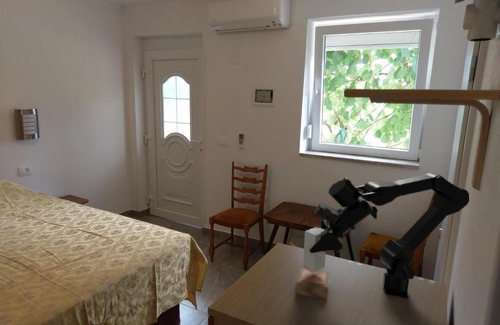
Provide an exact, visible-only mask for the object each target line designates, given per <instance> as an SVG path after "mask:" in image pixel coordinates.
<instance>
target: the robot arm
mask: <svg viewBox="0 0 500 325" xmlns="http://www.w3.org/2000/svg"><path fill="white" fill-rule="evenodd" d="M429 190H430V191H432V192H434V193H435V194H434V195H433V200H432V203H431V206H430V207H429V208H428V209H427V210H426V211H425V212H424V213H423V214H422V215H421V216H420V218H418V220H417V221H416V222H414V224H413V225H412V226H411V227H410V228H409V229H408V230H407V231H406V232H405V234H403V235H402V236H401V237H400V238H399V239H397V240H394V239H392V238H390V239H388V241H387V242H386V243H385V244H384V245H382V246H381V250H380V251H379V259H380V261H381V262H382V263H383V266H384V267H385V269H386V270H385V272H384V273H383V278H382V288H383V289H384V292H385V294H387V295H391V296H398V297H404V298H409V284H410V280H413V279H414V277H415V276H416V272H415V270H413V269H412V267H411V266H410V265H411V263H412V262H413V258H414V254H415V251H416V250H417V249H418V247H419V246H420V245H422V243H423V242H424V241H425V240H426V239H427V238H428V237H429V236H430V235H431V234H432V233H433V231H435V229H436V228H437V227H438V226H439V225H440V224H441V223H442V222H443V221H444V220H445V219H446V218H447V217H448V216H450V215H453V214H457V213H459V212H460V211H462V209H464V208H465V207H466V206H467V205H468V204H469V203H470V201H469V199H470V198H469V195H470V192H469V191H468V190H467V189H464V188H462V187H460V186H457V185H455V184H453V183H452V182H450V181H449V180H447V179H446V178H445V177H443V176H442V175H439V174H436V173H433V172H428V173H425V174H422V175H417V176H413V177H408V178H403V179H398V180H394V181H382V180H380V181H379V180H376V181H374V180H373V181H368V182H366V183H364V184H363V185H358V186H355V185H354V184H353V183H352V181H351V180H350V179H349V178H347V177H344V178H343V179H342V180H338V181H336V182H334V183H333V184H332V185H331V186H330V187H329V189H328V194H329V195H330V197H331V198H332V199H333V200H334V201H335V202H336V203H337V204H338V205H339V206H340V207H341V208H338V209H337V210H336V209H334V208H333V207H331V206H329V205H327V204H325V203H324V202H321V201H320V202H319V203H318V205H317V206H316V208H315V210H314V215H315V216H316V217H318V218H321V220H320V226H319V228H321V229H324V231H323V232H322V231H321V238H320V239H319V240H318V241H317V242H316V243H315V244H314V245H313V246H312V247H311V249H310V250H309V251H310V252H311V253H316V252H322V251H326V252H328V251H334V252H335V253H336V254H338V253H339V252H341V251H342V250H343V248H344V247H343V245H344V243H343V238H345V234H346V233H347V232H349V231H350V230H352V231H354V230H355V229H356V226H357V225H358V224H359V223H361V222H362V221H363V220H364V219H366V218H368V217H369V216H371V217H372V218H373V219H375V220H377V218H378V207H382V206H384V205H387V204H390V203H392V202H393V201H395V200H396V199H397V198H399V197H403V196H406V195H411V194H412V195H413V194H416V193H421V192H425V191H429ZM360 198H361V199H362V200H361V199H360ZM369 202H370V203H371V204H373V205H375V206H371V204H370V203H369ZM468 202H469V203H468ZM377 206H378V207H377Z"/></svg>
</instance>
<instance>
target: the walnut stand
mask: <svg viewBox="0 0 500 325" xmlns="http://www.w3.org/2000/svg"><path fill="white" fill-rule="evenodd" d="M299 269H300V270H299V273H298V277H297V281H296V290H295V291H296V295H299V296H304V297H309V298H315V299H322V300H326V301H327V300H328V289H329V280H330V272H329V271H323V270H319V271H316V272H314V273H312V272H310V271H308V270H306V269H304V268H303V267H300V268H299Z"/></svg>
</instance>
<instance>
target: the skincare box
mask: <svg viewBox="0 0 500 325" xmlns="http://www.w3.org/2000/svg"><path fill="white" fill-rule="evenodd" d="M321 231H322V232H323V231H324V229H321V228H320V227H317V226H316V227H313V228H310V229H309V228H308V230H307V229H306V230H305V231H304V240H303V241H304V242H303V245H304V246H303V259H302V268H304V269H306V270H308V271H310V272H312V273H314V272H316V271H322V269H324V268H325V267H326V255H327V251H322V252H316V253H311V252H310V251H309V250H310V249H311V247H312V246H313V245H314V244H315V243H316V242H317V241H318V240H319V239H320V238H321Z"/></svg>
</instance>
